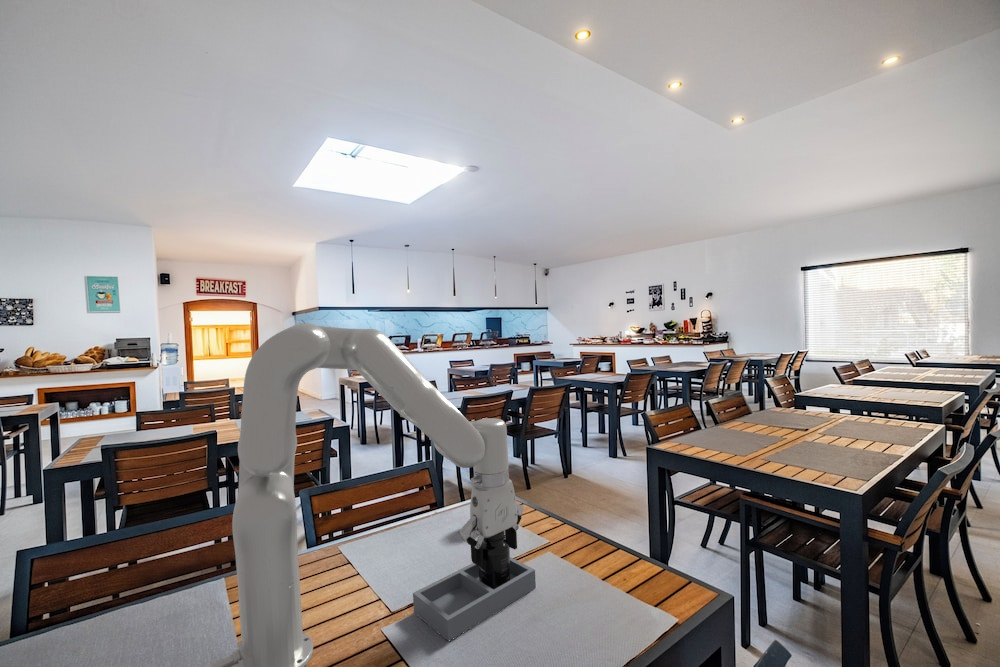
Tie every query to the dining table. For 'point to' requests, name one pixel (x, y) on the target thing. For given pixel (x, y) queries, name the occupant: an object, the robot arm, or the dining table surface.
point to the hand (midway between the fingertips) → (495, 555)
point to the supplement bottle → (495, 561)
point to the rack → (469, 598)
